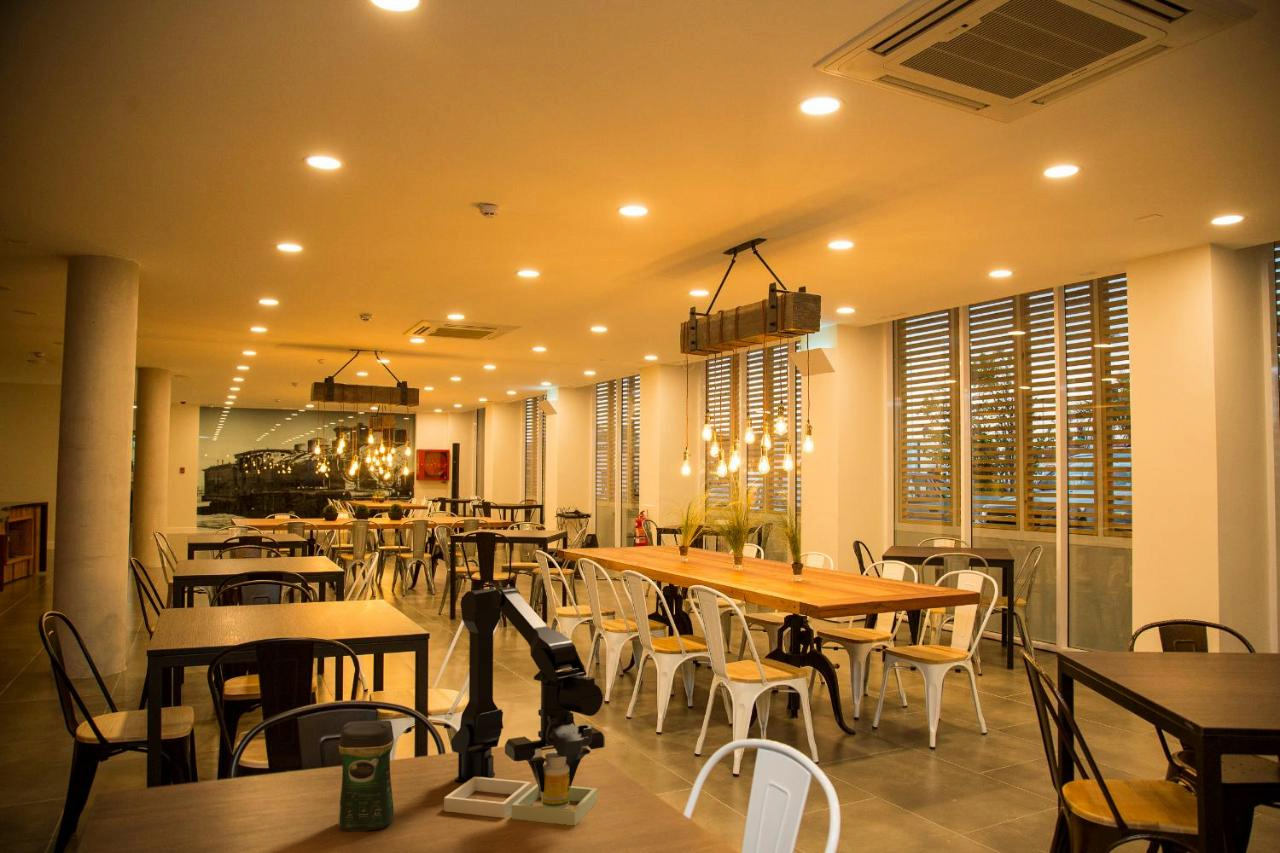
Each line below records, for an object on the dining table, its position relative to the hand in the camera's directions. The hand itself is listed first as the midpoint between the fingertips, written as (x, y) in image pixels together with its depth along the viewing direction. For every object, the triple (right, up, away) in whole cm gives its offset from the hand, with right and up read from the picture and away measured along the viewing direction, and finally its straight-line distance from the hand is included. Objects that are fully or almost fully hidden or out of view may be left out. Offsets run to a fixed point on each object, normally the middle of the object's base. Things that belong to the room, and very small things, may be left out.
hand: (555, 788), depth 171 cm
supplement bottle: (0, -3, 0) cm, 3 cm away
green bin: (0, -4, 0) cm, 4 cm away
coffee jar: (-34, -4, -7) cm, 35 cm away
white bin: (-13, -4, +4) cm, 14 cm away
